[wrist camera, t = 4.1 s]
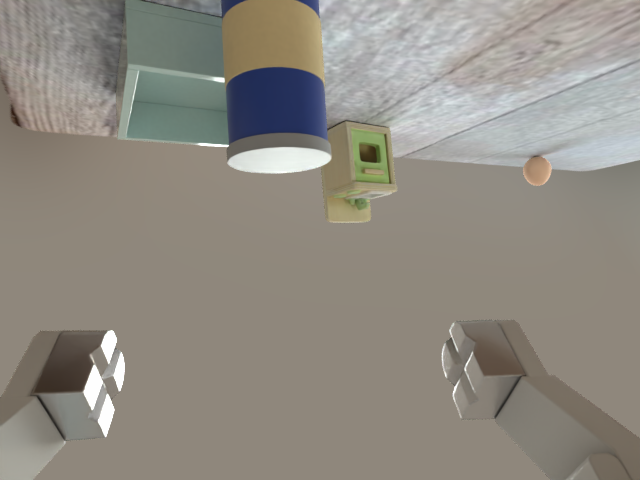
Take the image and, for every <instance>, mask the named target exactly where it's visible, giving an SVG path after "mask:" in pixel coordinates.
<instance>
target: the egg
mask: <svg viewBox="0 0 640 480" xmlns="http://www.w3.org/2000/svg"><path fill="white" fill-rule="evenodd" d="M523 172H524V176H525V178H526V180H527V181H528V182H529V183H531V184H532V185H535V186H539V185H542V184H544V183H545V182H546V181H547V180H548V179H549V177H550V174H551V165H550V163H549V161H548V160H546V159H545V158H543V157H533V158H531V159H529V160H528V161H527V162H526V164H525V165H524V169H523Z"/></svg>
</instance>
